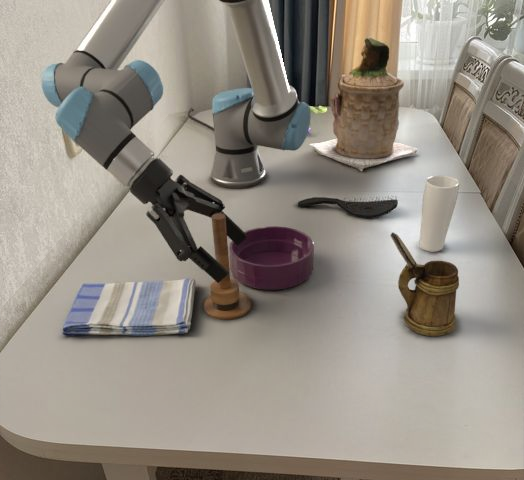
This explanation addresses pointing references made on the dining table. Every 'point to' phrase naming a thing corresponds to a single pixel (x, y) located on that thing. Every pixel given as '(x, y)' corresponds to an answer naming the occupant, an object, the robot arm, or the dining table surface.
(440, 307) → the wooden mug
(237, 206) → the dining table surface
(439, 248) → the white tumbler
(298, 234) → the bowl
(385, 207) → the hairbrush
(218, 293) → the dish brush
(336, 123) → the cookie jar
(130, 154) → the robot arm
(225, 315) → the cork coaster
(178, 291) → the dish towel
